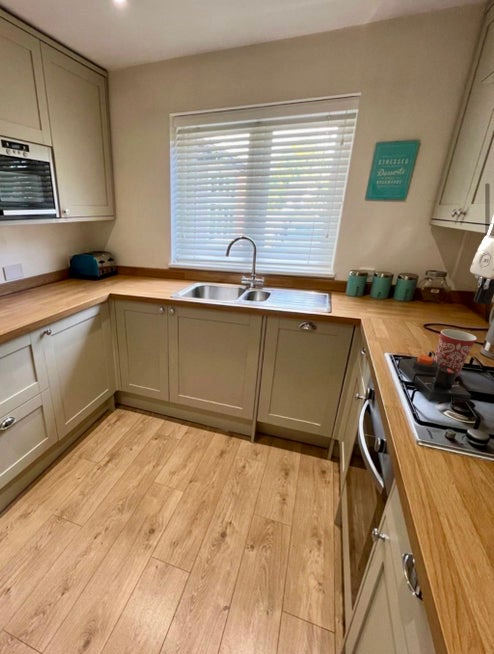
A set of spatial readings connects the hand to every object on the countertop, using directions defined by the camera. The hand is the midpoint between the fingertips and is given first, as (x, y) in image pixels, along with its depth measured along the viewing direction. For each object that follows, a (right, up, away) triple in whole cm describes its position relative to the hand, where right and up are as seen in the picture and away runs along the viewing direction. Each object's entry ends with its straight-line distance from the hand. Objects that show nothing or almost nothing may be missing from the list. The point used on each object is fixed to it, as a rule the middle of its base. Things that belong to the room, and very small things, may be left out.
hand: (481, 302), depth 89 cm
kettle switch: (-4, -17, +16) cm, 24 cm away
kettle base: (-4, -22, +17) cm, 28 cm away
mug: (+6, -21, +21) cm, 30 cm away
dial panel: (-6, -26, +7) cm, 28 cm away
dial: (-6, -23, +6) cm, 25 cm away
